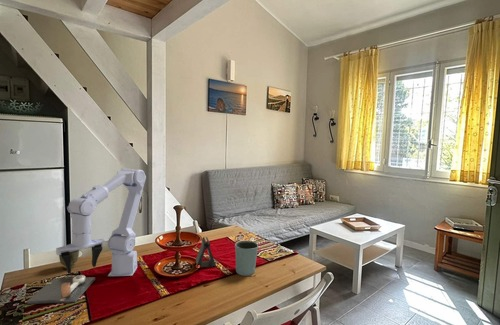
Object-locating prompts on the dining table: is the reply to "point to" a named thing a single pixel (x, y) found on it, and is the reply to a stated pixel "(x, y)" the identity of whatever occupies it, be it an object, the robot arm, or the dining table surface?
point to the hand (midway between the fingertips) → (81, 269)
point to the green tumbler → (246, 257)
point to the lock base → (59, 291)
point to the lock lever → (66, 287)
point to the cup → (73, 258)
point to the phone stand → (200, 255)
